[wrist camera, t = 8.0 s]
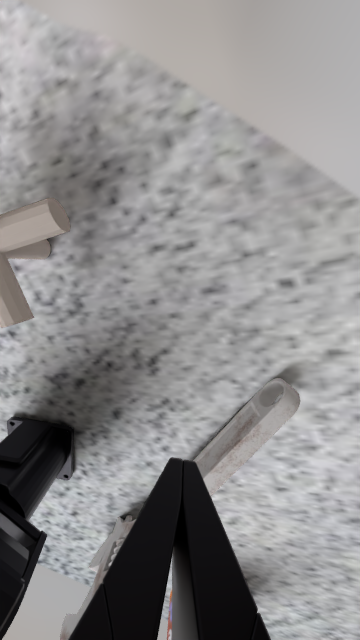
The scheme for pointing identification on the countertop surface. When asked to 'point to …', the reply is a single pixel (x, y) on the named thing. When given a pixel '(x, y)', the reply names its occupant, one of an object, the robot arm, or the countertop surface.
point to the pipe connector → (25, 250)
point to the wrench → (210, 467)
